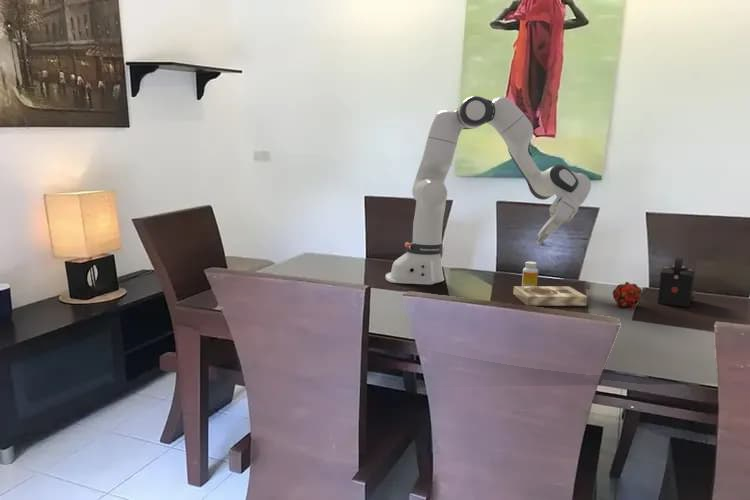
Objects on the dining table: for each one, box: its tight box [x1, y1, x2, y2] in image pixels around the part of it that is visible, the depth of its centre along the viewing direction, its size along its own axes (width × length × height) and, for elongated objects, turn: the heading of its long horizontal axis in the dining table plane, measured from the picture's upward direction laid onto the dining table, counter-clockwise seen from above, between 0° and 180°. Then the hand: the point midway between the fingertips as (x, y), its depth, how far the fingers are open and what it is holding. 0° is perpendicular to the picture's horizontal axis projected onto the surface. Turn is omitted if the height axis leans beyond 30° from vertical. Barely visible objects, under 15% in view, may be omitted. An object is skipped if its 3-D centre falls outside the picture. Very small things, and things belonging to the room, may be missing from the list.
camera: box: [657, 257, 696, 308], centre depth 192 cm, size 11×14×15 cm
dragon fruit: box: [612, 281, 643, 308], centre depth 185 cm, size 8×8×12 cm
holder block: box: [512, 285, 588, 307], centre depth 191 cm, size 20×14×3 cm
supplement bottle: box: [521, 261, 539, 286], centre depth 206 cm, size 5×5×10 cm
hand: (542, 238), depth 203 cm, fingers open, 8 cm apart
